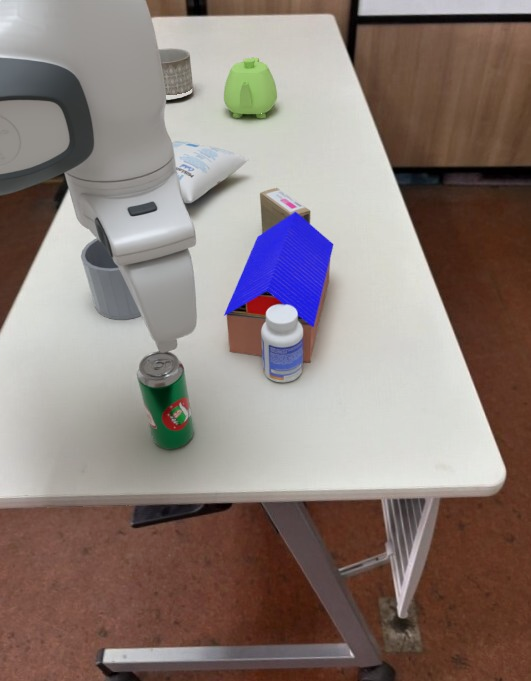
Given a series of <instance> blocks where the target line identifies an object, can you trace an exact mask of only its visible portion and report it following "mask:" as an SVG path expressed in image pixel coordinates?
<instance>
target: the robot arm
mask: <svg viewBox="0 0 531 681" xmlns="http://www.w3.org/2000/svg"><path fill="white" fill-rule="evenodd" d="M147 3H148V2H147V0H0V196H5V195H8V194H9V195H10V194H14V193H16V192H19V191H22V190H25V189H28V188H30V187H33V186H36V185H39V184H41V183H43V182H46V181H48V180H51V179H54V178H56V177H58V176H60V175H62V174H64V177H65V181H66V184H67V188H68V191H69V195H70V198H71V202H72V206H73V209H74V210H73V211H74V213H75V217H76V219H77V221H78V223H79V224H80V225H81V226H82V227H84V228H85V229H87V230H89V232H90V233H91V234H92V235H93V236H94V237H95V239H96V238H97V239H98V240H99V241H100V242H101V243H102V244H103V246H104V247H105V248H106V250H107V252H108V253H109V255H110V257H112V259H113V261H114V263H115V264H116V265H117V266H118V268H119V270H120V272H121V274H122V276H123V278H124V280H125V282H126V284H127V286H128V288H129V290H130V293H131V295H132V297H133V299H134V301H135V303H136V305H137V307H138V309H139V311H140V313H141V315H142V316H141V318H142V319H143V322H144V323H145V326H146V328H147V330H148V332H149V335H150V337H151V340H152V341H153V342H154V343H155V346H156V348H157V351H159V352H161V353H165V352H171V351H174V350H176V349H177V347H178V341H177V340H178V339H181V338H184V337H186V336H189V335H191V334H192V333H193V332H194V331H195V329H196V327H197V323H198V313H197V312H198V310H197V296H196V293H197V292H196V282H195V272H194V265H193V261H192V255H191V253H190V250H189V249H191V248H193V247H195V246H196V244H197V235H196V228H195V225H194V222H193V220H192V216H191V215H190V212H189V210H188V208H187V205H186V203H184V200H183V198H182V196H181V189H180V181H179V177H178V175H177V169H176V162H175V155H174V148H173V144H172V142H173V141H172V139H171V136H170V134H169V133H168V130H167V126H166V121H165V120H166V119H165V109H166V105H167V100H166V91H165V84H164V77H163V71H162V65H161V60H160V54H159V49H160V48H159V45H158V41H157V40H158V39H157V36H156V31H155V27H154V23H153V19H152V15H151V12H150V8H149V6H148V4H147Z"/></svg>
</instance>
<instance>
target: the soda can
mask: <svg viewBox="0 0 531 681" xmlns="http://www.w3.org/2000/svg"><path fill="white" fill-rule="evenodd" d="M136 378H137V382H138V387H139V390H140V394H141V397H142V402H143V406H144V410H145V414H146V418H147V422H148V427H149V430H150V434H151V438H152V441H153V442H154V444H156V445H157V446H158V447H160V448H162V449H167V450H174V449H179V448H181V447H184V446H185V445H186V444H188V442H190V441H191V439H192V438H193V436H194V432H195V428H194V421H193V415H192V409H191V403H190V398H189V391H188V385H187V379H186V374H185V367H184V365H183V363H182V362H181V360H179V357H178V356H177V355H176V354H175V353H172V352H171V351H168V352H165V353H161V352H159V350H157V351H154V352H151V353H148V354H146V355H145V356H144V357H143V358H142V359H141V360H140V362H139V364H138V368H137V372H136Z"/></svg>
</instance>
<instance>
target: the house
mask: <svg viewBox="0 0 531 681" xmlns="http://www.w3.org/2000/svg"><path fill="white" fill-rule="evenodd" d="M333 249H334V243H333V242H331V240H329V239H328V238H327V237H326V236H324V235H323V234H322V233H321V232H320V231H319V230H317V228H315V227H314V226H313V225H312V224H311V223H310V224H309V223H308V222H307V221H306V220H305V219H304V218H302V217H301V216H300V215H299V214H298V213H297V212H294V213H293V214H291V215H290V216H288V217H287V218H285V219H284V220H282V221H281V222H279V223H278V224H276V225H275V226H273V227H272V228H270V229H269V230H267V231H266V232H264V233H263V234H262V233H261V234H259V235H258V236H257V237H256V240H255V242H254V244H253V247H252V248H251V250H250V254H249V256H248V258H247V260H246V263H245V264H244V267H243V270H242V272H241V275H240V276H239V279H238V281H237V283H236V286H235V288H234V291H233V293H232V296H231V297H230V300H229V303H228V305H227V307H226V309H225V312H224V314H223V317H225V316H226V324H227V335H228V346H229V352H230V353H237V354H243V355H253V356H258V357H262V339H261V329H262V326H263V324H264V323H265V322H266V311H267V310H268V309H269V308H270V307H271V306H273V305H277V304H284V305H286V304H287V305H290V306H293V307H294V308H295V309H296V310H297V313H298V321H299V322H300V323H301V325H302V327H303V363H311V359H312V354H313V350H314V346H315V342H316V338H317V333H318V329H319V324H320V320H321V316H322V312H323V308H324V303H325V298H326V294H327V290H328V285H329V282H330V270H331V258H332V253H333Z"/></svg>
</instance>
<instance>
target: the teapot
mask: <svg viewBox="0 0 531 681" xmlns="http://www.w3.org/2000/svg"><path fill="white" fill-rule="evenodd" d="M242 60H243V61H239V62H237V63H235V64H233V65H232V67H231V68H230V70H229V73H228V75H227V77H226V81H225V85H224V89H223V102H224V104H225V106H226V107H227V109H228V110H229V111H230V112H231V113H233V114H232V117H233V118H235V119H238V118H242V117H243V115H255V118H257V119H266V118H267V115H266V113H267V112H269V111H270V110H271V109H272V108H273V106H274V105H275V104H276V102H277V99H278V91H277V90H278V89H277V86H276V83H275V78H274V76H273V74H272V72H271V70H270V68H269V66H268V64H267V63H265V62H263V61H262V62H261V61H260V57H248V58H243V59H242ZM261 113H262V114H261Z"/></svg>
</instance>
